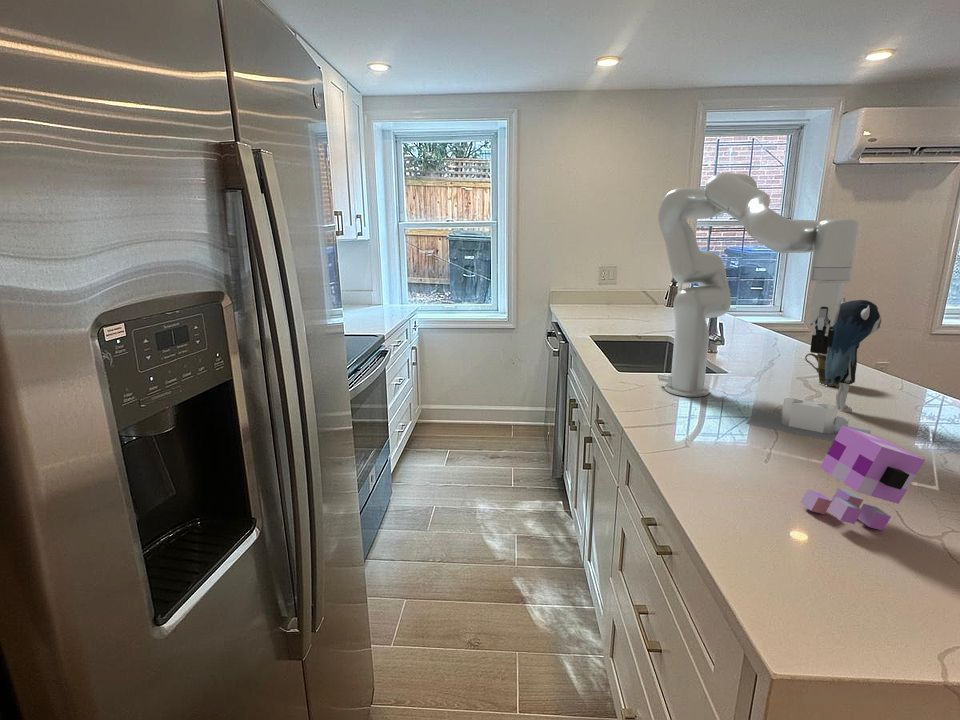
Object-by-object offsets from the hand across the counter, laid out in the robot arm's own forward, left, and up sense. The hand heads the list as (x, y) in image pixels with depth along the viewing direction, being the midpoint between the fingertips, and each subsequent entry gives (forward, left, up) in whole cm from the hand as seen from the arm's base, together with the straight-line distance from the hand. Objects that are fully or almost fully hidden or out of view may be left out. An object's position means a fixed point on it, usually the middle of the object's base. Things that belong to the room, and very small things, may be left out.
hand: (821, 349), depth 117 cm
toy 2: (+11, -42, -20) cm, 48 cm away
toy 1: (+4, +20, -20) cm, 29 cm away
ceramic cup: (-2, +49, -20) cm, 53 cm away
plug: (+1, 0, -19) cm, 19 cm away
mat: (-1, 0, -20) cm, 20 cm away
